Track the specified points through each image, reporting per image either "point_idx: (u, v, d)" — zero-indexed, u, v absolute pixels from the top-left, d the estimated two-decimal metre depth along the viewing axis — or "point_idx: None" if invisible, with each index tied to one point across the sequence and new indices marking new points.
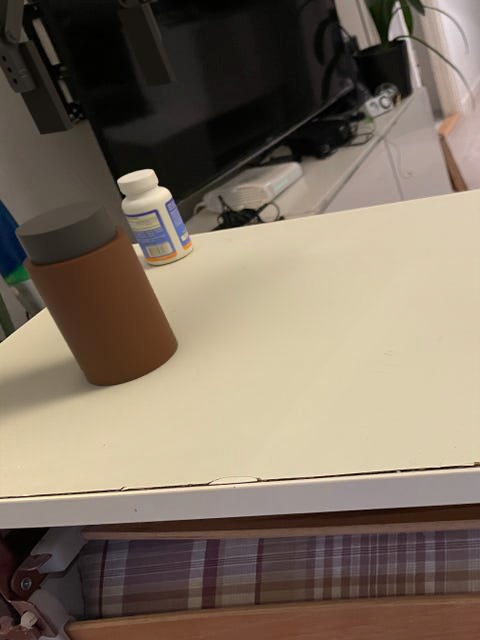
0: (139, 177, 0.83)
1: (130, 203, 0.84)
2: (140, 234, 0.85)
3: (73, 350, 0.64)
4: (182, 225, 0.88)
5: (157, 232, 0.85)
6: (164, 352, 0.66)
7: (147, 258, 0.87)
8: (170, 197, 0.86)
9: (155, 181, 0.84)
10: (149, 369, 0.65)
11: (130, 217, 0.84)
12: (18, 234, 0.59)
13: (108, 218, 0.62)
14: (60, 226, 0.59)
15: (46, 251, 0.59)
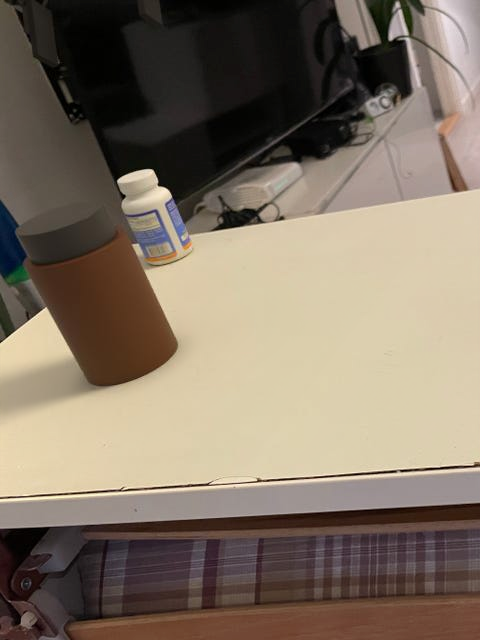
0: (139, 177, 0.83)
1: (130, 203, 0.84)
2: (140, 234, 0.85)
3: (73, 350, 0.64)
4: (182, 225, 0.88)
5: (157, 232, 0.85)
6: (164, 352, 0.66)
7: (147, 258, 0.87)
8: (170, 197, 0.86)
9: (155, 181, 0.84)
10: (149, 369, 0.65)
11: (130, 217, 0.84)
12: (18, 234, 0.59)
13: (108, 218, 0.62)
14: (60, 226, 0.59)
15: (46, 251, 0.59)
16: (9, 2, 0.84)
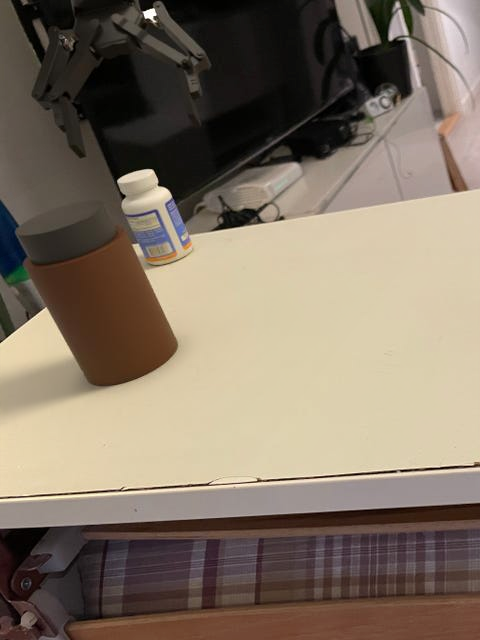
0: (139, 177, 0.83)
1: (130, 203, 0.84)
2: (140, 234, 0.85)
3: (73, 350, 0.64)
4: (182, 225, 0.88)
5: (157, 232, 0.85)
6: (164, 352, 0.66)
7: (147, 258, 0.87)
8: (170, 197, 0.86)
9: (155, 181, 0.84)
10: (149, 369, 0.65)
11: (130, 217, 0.84)
12: (18, 234, 0.59)
13: (108, 218, 0.62)
14: (60, 226, 0.59)
15: (46, 251, 0.59)
16: (38, 98, 0.89)
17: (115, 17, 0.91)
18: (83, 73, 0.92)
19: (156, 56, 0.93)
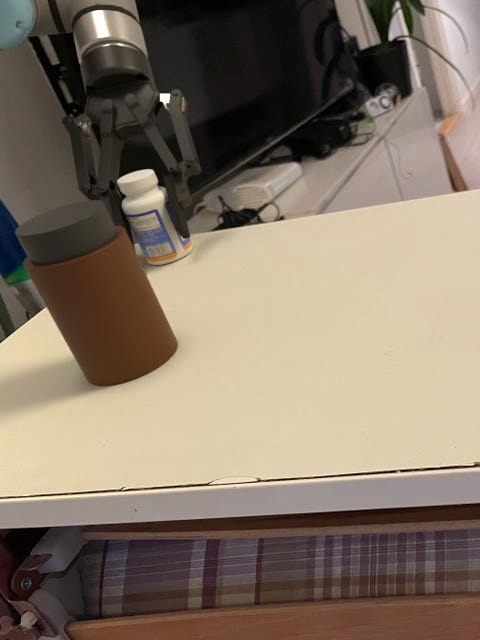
0: (139, 177, 0.83)
1: (130, 203, 0.84)
2: (140, 234, 0.85)
3: (73, 350, 0.64)
4: None
5: (157, 232, 0.85)
6: (164, 352, 0.66)
7: (147, 258, 0.87)
8: None
9: (155, 181, 0.84)
10: (149, 369, 0.65)
11: (130, 217, 0.84)
12: (18, 234, 0.59)
13: (108, 218, 0.62)
14: (60, 226, 0.59)
15: (46, 251, 0.59)
16: (87, 190, 0.85)
17: (129, 97, 0.87)
18: (116, 158, 0.87)
19: None
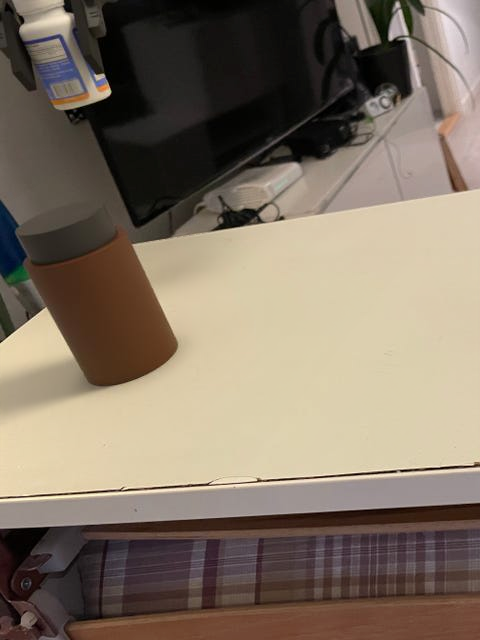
0: None
1: (28, 25, 0.69)
2: (42, 66, 0.70)
3: (73, 350, 0.64)
4: None
5: (63, 64, 0.70)
6: (164, 352, 0.66)
7: (53, 101, 0.72)
8: None
9: (59, 1, 0.69)
10: (149, 369, 0.65)
11: (28, 45, 0.69)
12: (18, 234, 0.59)
13: (108, 218, 0.62)
14: (60, 226, 0.59)
15: (46, 251, 0.59)
16: None
17: None
18: None
19: None
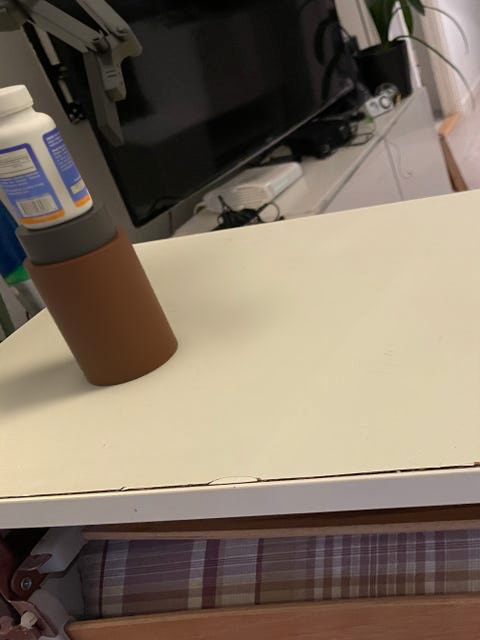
0: None
1: None
2: (6, 181, 0.57)
3: (73, 350, 0.64)
4: (73, 170, 0.59)
5: (31, 178, 0.57)
6: (164, 352, 0.66)
7: (21, 220, 0.59)
8: (52, 127, 0.58)
9: (26, 101, 0.56)
10: (149, 369, 0.65)
11: None
12: (18, 234, 0.59)
13: (108, 218, 0.62)
14: (60, 226, 0.59)
15: (46, 251, 0.59)
16: None
17: None
18: None
19: (56, 34, 0.60)
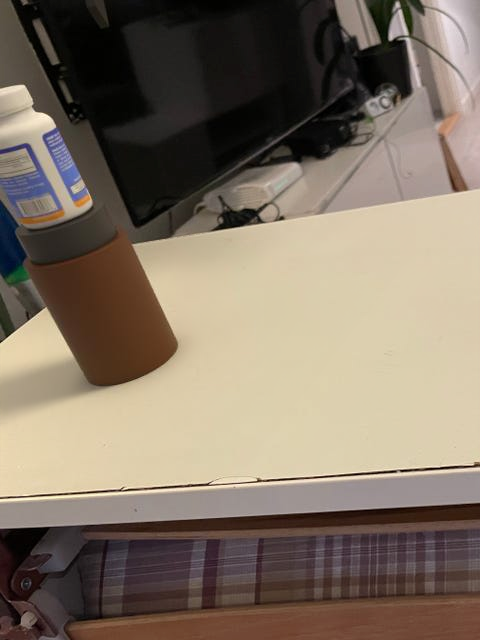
0: None
1: None
2: (6, 181, 0.57)
3: (73, 350, 0.64)
4: (73, 170, 0.59)
5: (31, 178, 0.57)
6: (164, 352, 0.66)
7: (21, 220, 0.59)
8: (52, 127, 0.58)
9: (26, 101, 0.56)
10: (149, 369, 0.65)
11: None
12: (18, 234, 0.59)
13: (108, 218, 0.62)
14: (60, 226, 0.59)
15: (46, 251, 0.59)
16: None
17: None
18: None
19: None
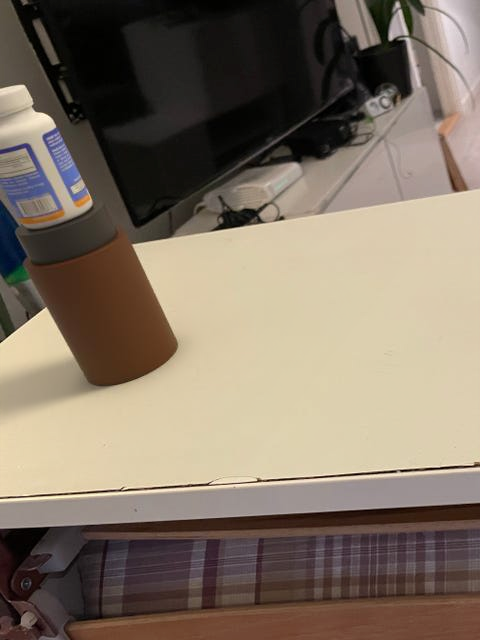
0: None
1: None
2: (6, 181, 0.57)
3: (73, 350, 0.64)
4: (73, 170, 0.59)
5: (31, 178, 0.57)
6: (164, 352, 0.66)
7: (21, 220, 0.59)
8: (52, 127, 0.58)
9: (26, 101, 0.56)
10: (149, 369, 0.65)
11: None
12: (18, 234, 0.59)
13: (108, 218, 0.62)
14: (60, 226, 0.59)
15: (46, 251, 0.59)
16: None
17: None
18: None
19: None
